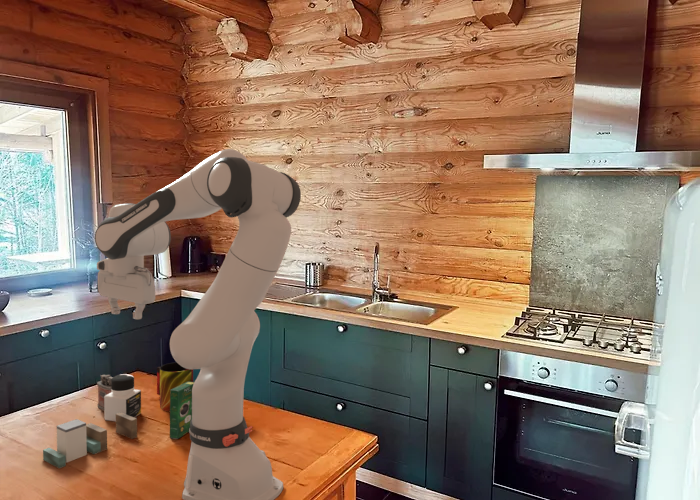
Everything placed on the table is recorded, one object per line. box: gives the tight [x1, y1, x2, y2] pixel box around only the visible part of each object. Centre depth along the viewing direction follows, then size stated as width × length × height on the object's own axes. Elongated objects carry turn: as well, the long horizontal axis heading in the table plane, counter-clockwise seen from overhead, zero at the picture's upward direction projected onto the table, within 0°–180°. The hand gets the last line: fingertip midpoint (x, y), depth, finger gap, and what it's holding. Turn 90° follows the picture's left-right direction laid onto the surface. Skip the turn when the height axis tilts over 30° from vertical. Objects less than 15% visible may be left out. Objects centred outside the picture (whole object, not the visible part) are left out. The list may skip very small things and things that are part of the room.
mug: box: [156, 361, 194, 412], centre depth 162 cm, size 10×14×12 cm
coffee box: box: [169, 381, 195, 440], centre depth 143 cm, size 8×3×13 cm, turn 161°
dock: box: [42, 412, 138, 469], centre depth 133 cm, size 7×20×5 cm, turn 147°
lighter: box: [96, 374, 114, 412], centre depth 158 cm, size 8×3×10 cm, turn 55°
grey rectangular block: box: [56, 418, 88, 463], centre depth 129 cm, size 4×5×8 cm
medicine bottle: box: [104, 373, 142, 422], centre depth 152 cm, size 7×7×12 cm
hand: (126, 316), depth 142 cm, fingers open, 8 cm apart
